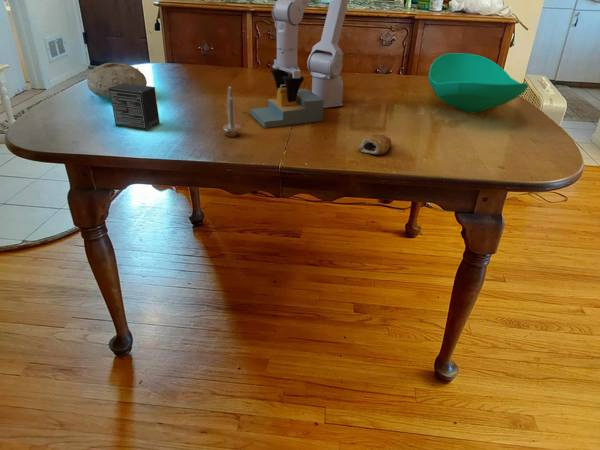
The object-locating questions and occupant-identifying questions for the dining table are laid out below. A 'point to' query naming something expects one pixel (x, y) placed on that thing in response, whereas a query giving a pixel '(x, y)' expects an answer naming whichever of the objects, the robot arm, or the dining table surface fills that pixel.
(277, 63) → the robot arm
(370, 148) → the pastry
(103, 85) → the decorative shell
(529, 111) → the dining table surface
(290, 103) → the block with handle
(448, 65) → the table top decor
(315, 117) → the step rack
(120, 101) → the small box
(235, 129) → the screw
